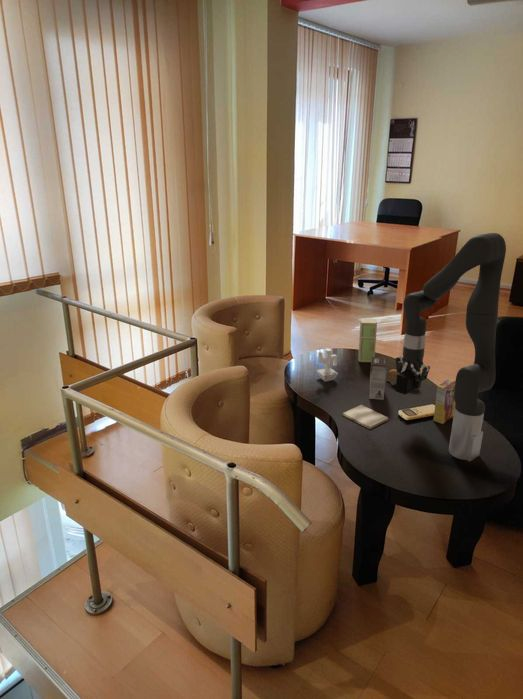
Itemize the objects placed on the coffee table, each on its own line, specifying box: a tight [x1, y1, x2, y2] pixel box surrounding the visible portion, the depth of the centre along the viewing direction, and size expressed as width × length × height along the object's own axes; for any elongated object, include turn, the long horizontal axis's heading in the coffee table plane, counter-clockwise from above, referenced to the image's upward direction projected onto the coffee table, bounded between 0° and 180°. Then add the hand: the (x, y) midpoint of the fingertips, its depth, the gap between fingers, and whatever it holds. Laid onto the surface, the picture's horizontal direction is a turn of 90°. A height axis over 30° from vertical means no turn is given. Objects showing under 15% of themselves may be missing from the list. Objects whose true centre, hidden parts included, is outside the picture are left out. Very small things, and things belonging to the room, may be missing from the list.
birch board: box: [342, 404, 389, 430], centre depth 199 cm, size 14×11×1 cm
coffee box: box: [368, 356, 388, 401], centre depth 215 cm, size 9×6×16 cm
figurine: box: [316, 347, 339, 383], centre depth 230 cm, size 7×9×15 cm
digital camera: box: [395, 370, 423, 396], centre depth 190 cm, size 10×5×7 cm, turn 134°
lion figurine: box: [386, 368, 400, 386], centre depth 226 cm, size 15×5×9 cm, turn 79°
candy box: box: [433, 378, 456, 425], centre depth 195 cm, size 9×4×15 cm, turn 133°
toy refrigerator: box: [357, 317, 378, 363], centre depth 249 cm, size 8×7×21 cm
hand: (410, 386), depth 191 cm, fingers closed on digital camera, 5 cm apart
